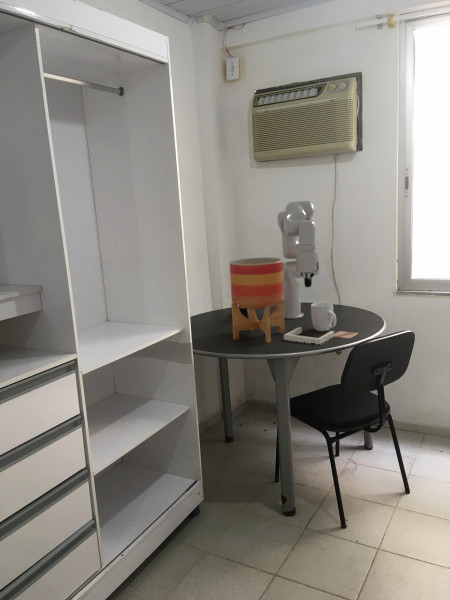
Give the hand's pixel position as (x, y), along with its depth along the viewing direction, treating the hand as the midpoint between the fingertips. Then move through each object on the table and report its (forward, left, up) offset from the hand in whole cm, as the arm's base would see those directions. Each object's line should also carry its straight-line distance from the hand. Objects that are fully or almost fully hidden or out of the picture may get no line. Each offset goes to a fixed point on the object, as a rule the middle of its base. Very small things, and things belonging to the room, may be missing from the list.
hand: (308, 286), depth 233 cm
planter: (-24, -7, -25) cm, 36 cm away
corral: (0, 0, -25) cm, 25 cm away
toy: (-58, +29, -26) cm, 69 cm away
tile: (+13, +12, -25) cm, 31 cm away
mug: (0, +16, -25) cm, 30 cm away
